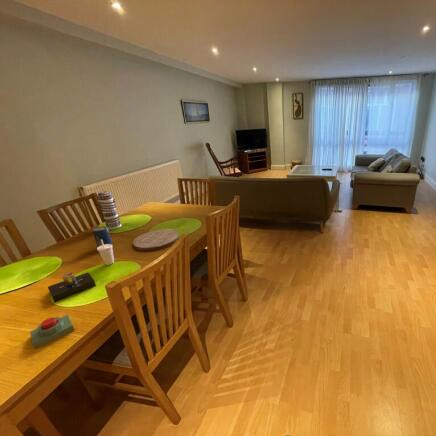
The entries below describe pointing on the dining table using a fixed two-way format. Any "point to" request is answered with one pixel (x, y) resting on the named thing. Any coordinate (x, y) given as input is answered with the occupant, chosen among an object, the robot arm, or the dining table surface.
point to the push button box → (51, 332)
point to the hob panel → (71, 287)
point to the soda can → (102, 236)
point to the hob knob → (69, 279)
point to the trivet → (156, 239)
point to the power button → (48, 323)
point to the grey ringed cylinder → (109, 210)
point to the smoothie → (106, 253)
